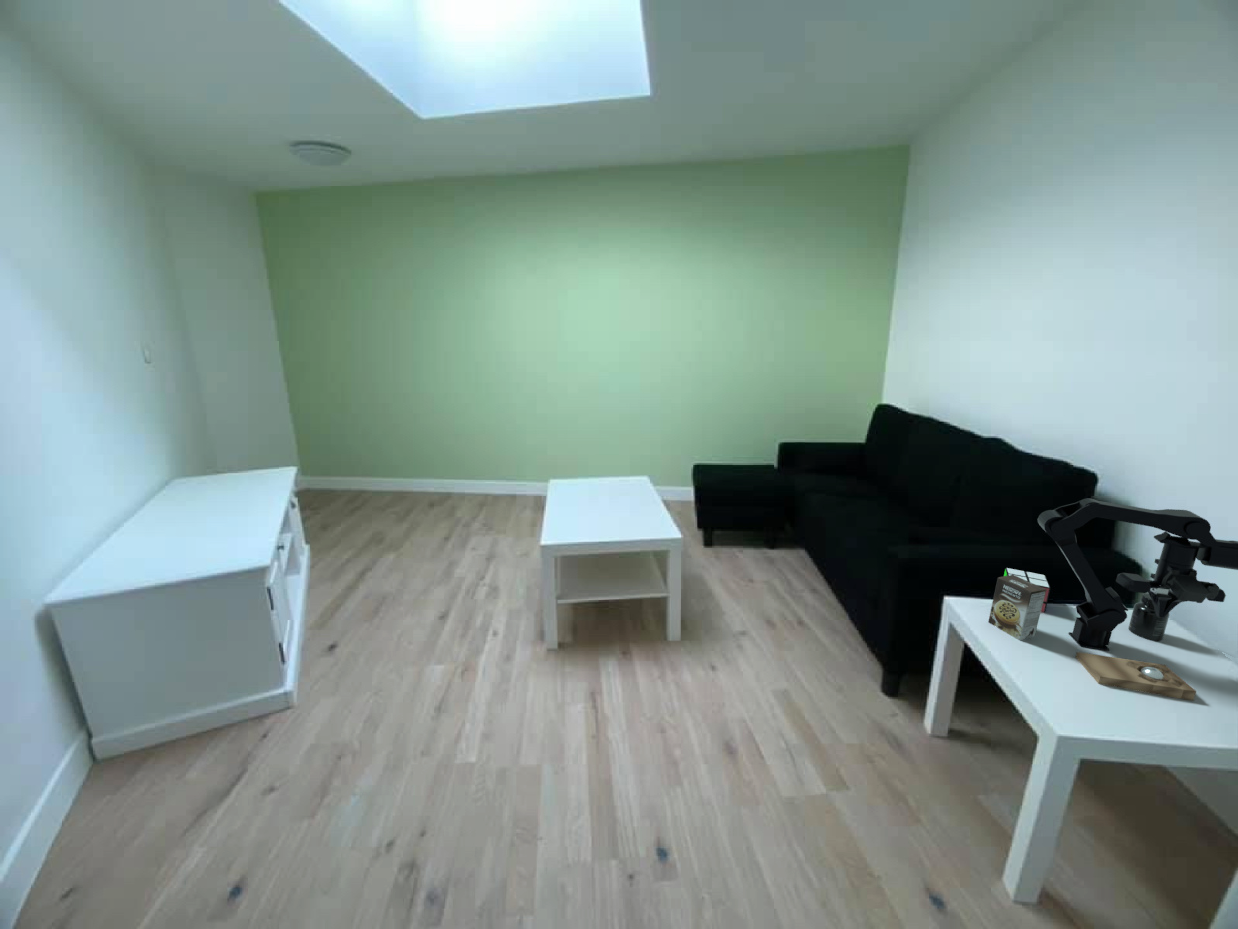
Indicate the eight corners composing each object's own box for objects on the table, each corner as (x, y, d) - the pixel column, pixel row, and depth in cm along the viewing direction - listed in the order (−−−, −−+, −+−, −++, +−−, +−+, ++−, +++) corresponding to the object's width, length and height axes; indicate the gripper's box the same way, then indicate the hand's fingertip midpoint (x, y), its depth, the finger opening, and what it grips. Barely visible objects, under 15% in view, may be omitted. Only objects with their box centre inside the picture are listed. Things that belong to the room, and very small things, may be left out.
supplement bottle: (1157, 634, 141) (1168, 595, 138) (1165, 646, 135) (1178, 606, 132) (1123, 626, 145) (1134, 589, 142) (1131, 638, 139) (1142, 599, 136)
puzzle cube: (1044, 618, 149) (1051, 588, 147) (1002, 609, 154) (1008, 579, 152) (1038, 603, 157) (1045, 574, 155) (999, 595, 162) (1005, 567, 160)
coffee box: (985, 627, 144) (996, 576, 140) (1001, 623, 146) (1012, 573, 142) (1018, 645, 136) (1030, 592, 132) (1035, 641, 138) (1047, 588, 134)
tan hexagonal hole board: (1097, 685, 120) (1100, 676, 120) (1074, 660, 129) (1076, 652, 129) (1193, 700, 115) (1196, 691, 114) (1162, 673, 124) (1164, 664, 124)
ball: (1147, 673, 119) (1169, 674, 118) (1136, 662, 123) (1157, 664, 121) (1146, 687, 120) (1167, 689, 118) (1135, 677, 123) (1155, 678, 122)
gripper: (1152, 570, 119) (1135, 627, 123) (1255, 580, 114) (1234, 640, 118) (1122, 551, 129) (1107, 605, 133) (1215, 560, 124) (1196, 616, 128)
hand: (1159, 616), depth 128 cm, fingers closed
